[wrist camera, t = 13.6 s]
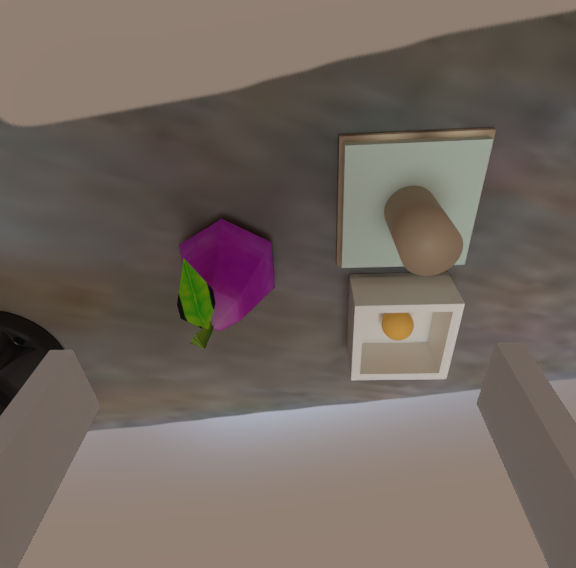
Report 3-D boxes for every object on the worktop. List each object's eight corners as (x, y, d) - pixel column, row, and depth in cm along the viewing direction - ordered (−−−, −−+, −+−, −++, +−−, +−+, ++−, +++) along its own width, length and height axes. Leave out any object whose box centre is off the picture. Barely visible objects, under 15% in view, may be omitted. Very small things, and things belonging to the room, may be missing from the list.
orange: (378, 326, 49) (383, 347, 46) (380, 303, 47) (385, 323, 44) (408, 326, 49) (414, 346, 46) (411, 302, 47) (418, 322, 44)
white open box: (346, 345, 52) (351, 380, 47) (349, 274, 46) (354, 306, 41) (432, 343, 51) (446, 379, 46) (447, 271, 45) (465, 303, 40)
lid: (340, 262, 44) (348, 314, 37) (344, 142, 37) (354, 175, 29) (460, 259, 44) (494, 311, 36) (488, 135, 36) (537, 168, 29)
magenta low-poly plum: (299, 257, 45) (297, 350, 32) (239, 312, 50) (217, 412, 37) (218, 192, 41) (181, 270, 28) (161, 259, 46) (109, 352, 33)
